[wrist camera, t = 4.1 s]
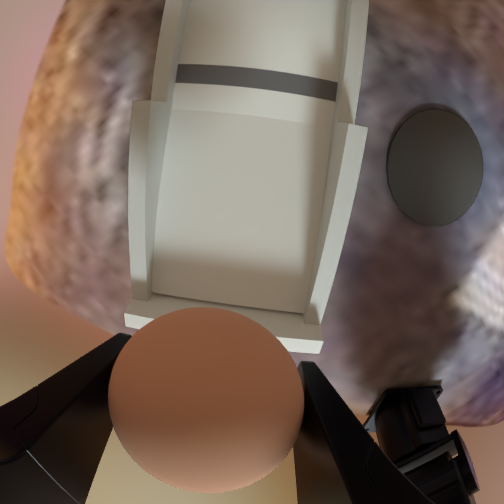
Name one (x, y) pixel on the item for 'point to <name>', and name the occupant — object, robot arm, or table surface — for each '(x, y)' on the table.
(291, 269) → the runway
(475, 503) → the robot arm
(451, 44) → the table surface
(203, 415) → the ball
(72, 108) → the table surface
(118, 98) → the table surface
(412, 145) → the dark grey disc
